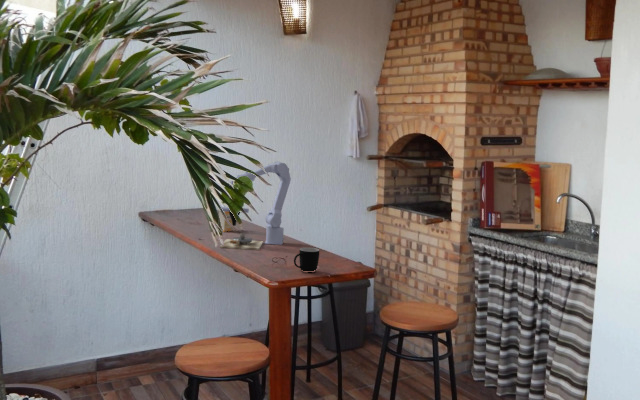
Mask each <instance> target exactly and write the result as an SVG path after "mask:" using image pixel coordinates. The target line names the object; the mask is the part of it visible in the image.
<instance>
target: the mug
mask: <svg viewBox="0 0 640 400" xmlns="http://www.w3.org/2000/svg"><path fill="white" fill-rule="evenodd" d="M298 257H299V265H298V264H297V262H296V261H297V258H298ZM319 259H320V249H319V248H315V247H301V248H299V253H297V254H296V255H295V256H294V258H293V264H294V266H295V267H296V268H299V269H300V271H301V270H303V271H314V270H316V269H317V270H318V265H319ZM317 270H316V271H317Z"/></svg>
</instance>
